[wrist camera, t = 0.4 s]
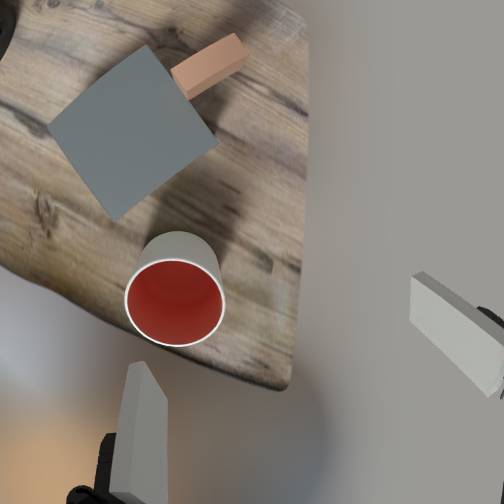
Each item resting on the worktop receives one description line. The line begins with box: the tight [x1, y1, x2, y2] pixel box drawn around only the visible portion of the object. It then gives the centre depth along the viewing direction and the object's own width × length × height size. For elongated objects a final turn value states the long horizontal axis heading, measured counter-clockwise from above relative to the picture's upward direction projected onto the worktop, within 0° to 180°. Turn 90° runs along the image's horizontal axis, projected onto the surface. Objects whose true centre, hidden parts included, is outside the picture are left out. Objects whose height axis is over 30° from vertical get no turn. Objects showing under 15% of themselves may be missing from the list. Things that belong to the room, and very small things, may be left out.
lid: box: [47, 33, 250, 223], centre depth 24 cm, size 13×19×6 cm
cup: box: [125, 231, 226, 346], centre depth 33 cm, size 10×10×10 cm
